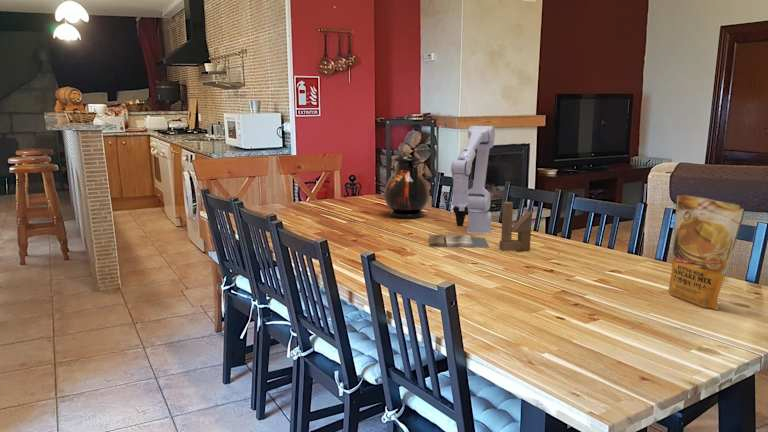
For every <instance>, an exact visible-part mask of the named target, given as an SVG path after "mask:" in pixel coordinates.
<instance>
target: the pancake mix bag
mask: <svg viewBox="0 0 768 432" xmlns="http://www.w3.org/2000/svg"><path fill="white" fill-rule="evenodd" d="M675 197H676V199H675V201H676V204H675V205H676V206H675V215H674V217H675V218H674V227H673V237H672V258H671V274H670V278H669V279H670V280H669V286H668V289H667V292H668V293H670V294H669V295H670V296H672V297H674V298H676V299H679V300H681V301H683V302H687V303H689V304H692V305H695V306H697V307H699V308H702V309H704V310H705V309H707V310H716V311H719V306H718V305H719V303H718V299H719V295H720V292H721V290H722V287H723V285H724V281H725V277H726V274H727V273H726V272H727V270H728V267H729V264H730V260H731V257H732V253H733V251H734V249H735V246H736V242H737V241H736V240H737V237H738V234H739V231H740V228H741V225H742V223H743V220H744V215H745V208H742V206H741V205H740V204H737V203H733V202H728V201H727V202H726V201H721V200H715V199H712V198H707V197H702V196H695V195H689V194H688V195H687V194H679V195H677V196H675Z"/></svg>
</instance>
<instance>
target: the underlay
mask: <svg viewBox="0 0 768 432" xmlns="http://www.w3.org/2000/svg"><path fill="white" fill-rule="evenodd" d="M471 240H472V242H473V247H465V248H466V249H467V248H473V249H474V248H475V249H477V248H478V249H480V248H482V249H487V248H488V249H490V245H489V243H488V241H487V240H486V238H485V237H471ZM445 242H446V240H445ZM429 247H430V248H453V247H452V246H447V245H446V246H430V245H429Z"/></svg>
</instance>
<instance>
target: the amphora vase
mask: <svg viewBox="0 0 768 432" xmlns="http://www.w3.org/2000/svg"><path fill="white" fill-rule="evenodd" d="M393 161H394V162H396V163H397V164H396V170H395V172H394V173H393V174H392V175H391V176H390V177H389V179H388V180H387V183H386V185H385V188H384V201H385V202H386V206H388V207H389V208H390V209H391V210H390V211H389V215H390V216H391V217H392V218H397V219H417V218H421V217H423V215H425V212H424V211H423V209H424V208H425V207H426V206H427V204H429V200H430V190H429V189H430V188H429V185H428V183H427V181H426V179H425V178H424V176H423V175H422V174H421V172H419V169H418V166H417V163H418V162H420V161H421V158H420V157H419V156H396V157H394V158H393Z"/></svg>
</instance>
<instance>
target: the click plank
mask: <svg viewBox="0 0 768 432" xmlns="http://www.w3.org/2000/svg"><path fill="white" fill-rule="evenodd" d="M444 237H445V240H446V245H447V246H452V247H451V248H466V247H473V242H472V240H471V238H472V237H471V235H470V234H464V235H463V234H445V235H444Z"/></svg>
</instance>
